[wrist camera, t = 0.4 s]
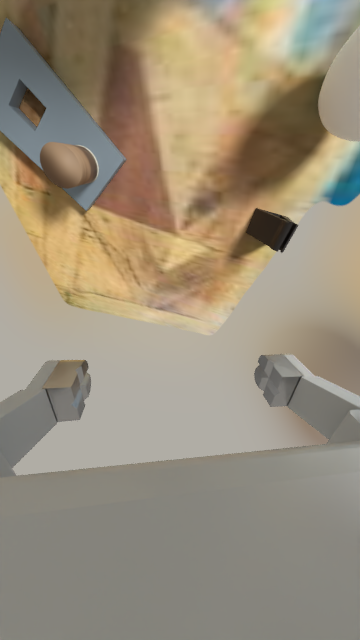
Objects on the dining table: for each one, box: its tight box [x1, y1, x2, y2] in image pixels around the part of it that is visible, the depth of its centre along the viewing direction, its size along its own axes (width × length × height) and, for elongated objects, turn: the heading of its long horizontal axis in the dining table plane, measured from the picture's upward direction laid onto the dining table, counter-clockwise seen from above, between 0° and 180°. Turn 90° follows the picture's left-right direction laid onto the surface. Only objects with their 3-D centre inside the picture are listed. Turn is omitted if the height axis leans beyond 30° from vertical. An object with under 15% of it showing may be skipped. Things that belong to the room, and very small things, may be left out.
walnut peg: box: [40, 142, 99, 189], centre depth 37 cm, size 6×6×14 cm
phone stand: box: [246, 208, 298, 252], centre depth 47 cm, size 9×6×12 cm, turn 76°
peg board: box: [0, 18, 127, 211], centre depth 39 cm, size 14×22×3 cm, turn 42°
